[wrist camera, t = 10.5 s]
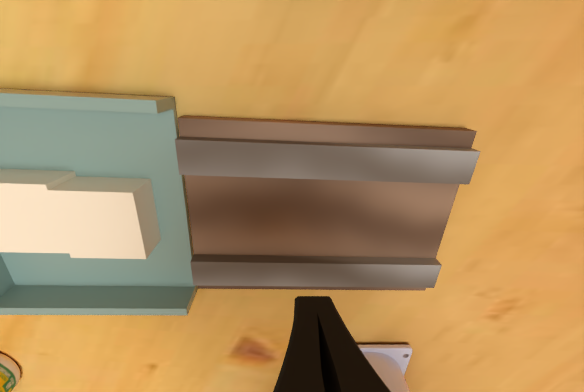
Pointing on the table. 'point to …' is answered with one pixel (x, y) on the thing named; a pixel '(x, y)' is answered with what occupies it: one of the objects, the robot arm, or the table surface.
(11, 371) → the supplement bottle
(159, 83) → the table surface
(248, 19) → the table surface
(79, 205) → the chip
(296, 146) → the slot board
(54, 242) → the chip
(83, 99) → the tray
